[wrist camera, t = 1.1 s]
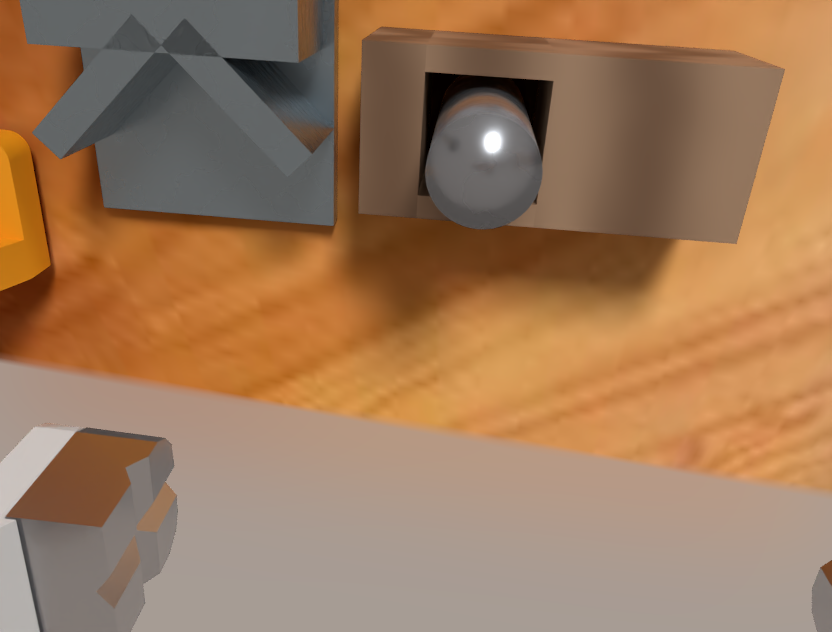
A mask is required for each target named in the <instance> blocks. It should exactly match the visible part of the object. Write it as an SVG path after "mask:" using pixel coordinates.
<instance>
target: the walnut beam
mask: <svg viewBox="0 0 832 632" xmlns="http://www.w3.org/2000/svg"><path fill="white" fill-rule="evenodd" d="M784 71H785V69H783V68H780V67H777V66H774V65H772V64H769V63H766V62H763V61H761V60H758V59H755V58H752V57H750V56H747V55H744V54H741V53H738V52H736V51H728V50H714V49H699V48H684V47H670V46H655V45H640V44H626V43H611V42H596V41H582V40H567V39H552V38H538V37H523V36H508V35H494V34H479V33H464V32H450V31H435V30H420V29H405V28H391V27H380V28H379V29H377V30H376V31H375V32H373V33H372V34H370V35H369V36H367V37H366V38H364V39H363V40H362V71H361V119H360V167H359V214H371V215H383V216H396V217H408V218H421V219H433V220H446V221H452V220H450V219H449V218H447V217H446V216H445V215H444V214H443V213H442V212H441V211H440V210H439V209H438V208H437V207H436V205H435V204H434V202H433V200H432V199H431V197H430V194H429V192H428V189H427V185H426V178H425V168H426V161H427V154H428V138H429V122H430V107H431V91H432V76H433V72H436V73H450V74H464V75H478V76H492V77H506V78H520V79H534V80H539V85H538V93H537V101H536V109H535V116H534V124H533V133H534V136H535V139H536V142H537V146H538V149H539V152H540V155H541V160H542V168H543V173H542V181H541V186H540V189H539V192H538V194H537V196H536V198H535V200H534V201H533V203H532V204H531V206H530V207H529V208H528V209H527V210H526V212H524V213H523V214H522V215H521V216H520V217H519V218H517V219H516V220H514V221H512V222H510V223H508V224H506V225H508V226H520V227H533V228H545V229H558V230H570V231H582V232H595V233H607V234H620V235H632V236H645V237H657V238H670V239H682V240H694V241H707V242H719V243H732V244H737V240H738V236H739V233H740V229H741V226H742V222H743V218H744V215H745V211H746V208H747V204H748V200H749V197H750V193H751V190H752V186H753V182H754V179H755V175H756V172H757V168H758V164H759V161H760V157H761V154H762V150H763V146H764V143H765V139H766V136H767V132H768V128H769V125H770V121H771V118H772V114H773V110H774V107H775V103H776V100H777V96H778V93H779V89H780V85H781V82H782V78H783V75H784Z"/></svg>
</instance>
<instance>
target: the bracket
mask: <svg viewBox="0 0 832 632" xmlns="http://www.w3.org/2000/svg"><path fill="white" fill-rule="evenodd" d="M50 265H51V263H50V258H49V252H48V246H47V241H46V235H45V229H44V224H43V218H42V212H41V207H40V201H39V195H38V190H37V184H36V178H35V173H34V167H33V162H32V156H31V151H30V148H29V145H28V144H27V142H26V141H25V140H24V138H23V137H21V136H20V135H19V134H17V133H15V132H13V131H10V130H1V129H0V291H2V290H4V289H7V288H9V287H12V286H14V285H17V284H19V283H22V282H25V281H27V280H30V279H32V278H33V277H35V276H36V275H38V274H39V273H40V272H42V271H43V270H45V269H46V268H47V267H49V266H50Z"/></svg>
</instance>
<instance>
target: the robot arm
mask: <svg viewBox="0 0 832 632" xmlns="http://www.w3.org/2000/svg"><path fill="white" fill-rule="evenodd" d="M173 467H174V460H173V453H172V444H171V443H170V442H169V441H168V440H167V439H166V438H161V437H153V436H146V435H138V434H131V433H123V432H115V431H108V430H101V429H93V428H81V427H75V426H67V425H59V424H51V423H50V424H49V423H44V424H41V425H38V426H35V427H34V428H32V430H31V431H30V432H29V433H28V434H27V435H26V436H25V437H24V438H23V439H22V440H21V441H20V442H19V443H18V444H17V445H16V446H15V448H13V450H12V451H11V452H10V453H9V454H8V455H7V456H6V457H5V458H4V459H3V460H2V461H1V462H0V632H131V630H132V628H133V626H134V624H135V622H136V620H137V618H138V616H139V614H140V612H141V610H142V608H143V606H144V604H145V598H144V589H143V584H144V583H146V582H147V581H148V580H150V579H152V578H153V577H155V576H156V575H158V574H159V573H160V572H161V570H162V568H163V566H164V564H165V562H166V560H167V558H168V556H169V554H170V550H171V546H172V543H173V539H174V535H175V532H176V525H177V513H178V509H177V495H176V494H175V493H174V492H173V490H172V489H171V488H170V487H169V486H168V485H167V483H166V482H165V481H166V480H167V478H168V476H169V474H170V473H171V471H172V469H173ZM812 614H813V617H814V621H815V625H816V629H817V631H818V632H832V560H831V561H830V562H828V563H827V564H825V565H824V566H822V567H821V568H820V570H819V573H818V575H817V578H816V580H815V583H814V585H813V588H812Z"/></svg>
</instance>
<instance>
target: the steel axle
mask: <svg viewBox="0 0 832 632" xmlns="http://www.w3.org/2000/svg"><path fill="white" fill-rule="evenodd" d="M542 173H543V168H542V160H541V155H540V152H539V149H538V146H537V142H536V139H535V136H534V133H533V130H532V126H531V123H530V120H529V117H528V114H527V110H526V107H525V104H524V101H523V98H522V95H521V92H520V90H519V88H518V87H517V85H516V84H515V83H514V82H513V81H512V80H511V79H510V78H506V77H492V76H478V75H464V74H462V75H460V76H459V77H458V78H456V79H455V80H454V81H453V82H452V83H451V85H450V86H449V87H448V89H447V90H446V92H445V94H444V97H443V100H442V104H441V107H440V111H439V115H438V119H437V123H436V127H435V130H434V134H433V138H432V142H431V146H430V150H429V153H428V157H427V161H426V168H425V178H426V185H427V189H428V192H429V194H430V197H431V199H432V200H433V202H434V204H435V205H436V207H437V208H438V209H439V210H440V211H441V212H442V213H443V214H444V215H445V216H446V217H447V218H449V219H450V220H452V221H453V222H455V223H457V224H459V225H462V226H465V227H468V228H473V229H493V228H497V227H501V226H504V225H506V224H508V223H510V222H512V221H514V220H516V219H517V218H519V217H520V216H521V215H522V214H523V213H524V212H526V210H527V209H528V208H529V207H530V206H531V204H532V203H533V201H534V200H535V198H536V196H537V194H538V192H539V189H540V186H541V181H542Z"/></svg>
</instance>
